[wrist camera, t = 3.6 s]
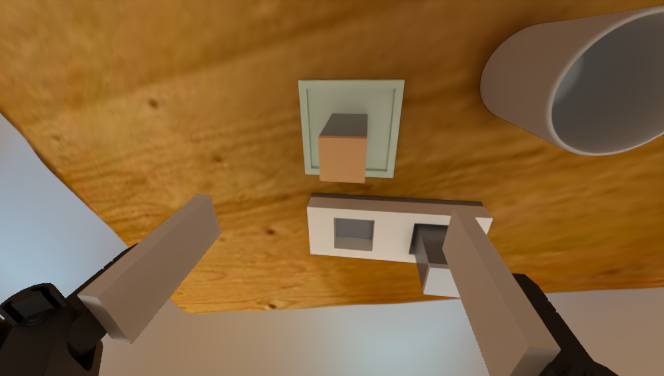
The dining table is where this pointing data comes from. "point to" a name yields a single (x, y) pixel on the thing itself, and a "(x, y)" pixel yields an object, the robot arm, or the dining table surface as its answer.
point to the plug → (343, 148)
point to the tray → (353, 98)
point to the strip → (377, 224)
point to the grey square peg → (432, 260)
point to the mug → (583, 81)
